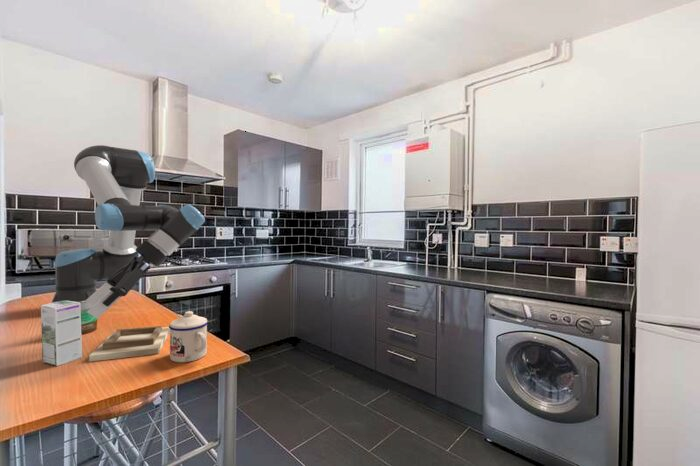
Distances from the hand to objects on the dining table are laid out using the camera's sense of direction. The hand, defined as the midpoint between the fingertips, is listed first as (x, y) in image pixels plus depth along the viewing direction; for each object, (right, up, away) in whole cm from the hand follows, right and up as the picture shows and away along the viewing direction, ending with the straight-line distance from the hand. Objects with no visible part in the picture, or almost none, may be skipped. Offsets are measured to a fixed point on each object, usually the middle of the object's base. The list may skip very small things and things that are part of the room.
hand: (90, 309), depth 82 cm
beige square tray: (+6, -12, +8) cm, 16 cm away
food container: (-16, -12, +17) cm, 26 cm away
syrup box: (-5, -12, -2) cm, 14 cm away
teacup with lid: (+26, -13, +1) cm, 29 cm away
